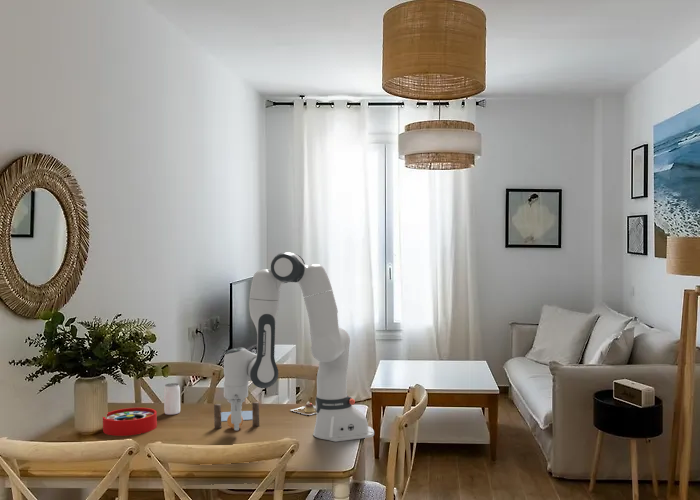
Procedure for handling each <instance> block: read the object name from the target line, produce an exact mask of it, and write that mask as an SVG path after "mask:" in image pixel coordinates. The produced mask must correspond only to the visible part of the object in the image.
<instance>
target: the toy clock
mask: <svg viewBox="0 0 700 500" xmlns="http://www.w3.org/2000/svg"><path fill="white" fill-rule="evenodd" d="M107 413H108V414H107V419H106V418H105V417H103V416H102V432H103V433H104V434H105V435H107V436H116V437H117V436H118V437H120V436H121V437H123V436H124V437H125V436H127V437H128V436H136V435H141V433H142V434H146V433H149V432H152V431H153V430H154V431H155V429H157V426H158V417H157V413H158V412H157V410H155V409H153V408H151V407H150V408H149V407H128V408H120V409H116V410H115V409H114V410H112V411H111V410H110V411H109V412H107Z"/></svg>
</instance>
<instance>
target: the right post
mask: <svg viewBox="0 0 700 500" xmlns="http://www.w3.org/2000/svg"><path fill="white" fill-rule="evenodd" d="M251 406H252V408H251V409H252V410H251V411H252V416H253V420H252V426H253V427H256V428H257V427H260V402H259V401H253V402H252V404H251Z"/></svg>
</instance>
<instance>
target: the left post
mask: <svg viewBox="0 0 700 500" xmlns="http://www.w3.org/2000/svg"><path fill="white" fill-rule="evenodd" d="M213 409H214V410H213V414H214V417H213V418H214V422H213V423H214V430H215V429H217V430H218V429H222V422H221V412H222V403H214V404H213Z"/></svg>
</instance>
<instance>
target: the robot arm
mask: <svg viewBox="0 0 700 500" xmlns="http://www.w3.org/2000/svg"><path fill="white" fill-rule="evenodd" d="M287 283H297V284H298V285H299V286H300V289H301V293H302V296H303V302H304V305H305V308H306V309H305V310H306V312H307V313H306V314H307V315H308V316H307V317H308V321H309V322H308V323H309V333H310V341H311V342H310V343H311V344H310V345H311V346H310V351H311V354H312V356H313V358H314V359H315V360H316V361H318V362H319V364H318V369H317V372H316V373H317V374H316V396H315V406H316V408H315V411H316V412H315V413H317V414H316V415H315V416H316V417H315V425H314V429H313V433H312V435H313V437H315V438H317V439H321V440H327V441H331V442H344V441H352V440H359V439H361V440H362V439H367V438H369V439H370V438H372V437H374V436H375V430H374V429H373V427H371V426H369V424H368V419H367V417H366V415H365V414H364V413H363V412H361V411H360V410H359V409H357V408H356V407H354V405H355V404H356V400H355V399H354V398H352V397H351V396H350V395H348V394H347V393H348V392H347V391H348V387H347V384H348V383H347V382H348V381H347V375H348V366H349V356H350V355H349V352H350V343H351V338H350V335H349V333H348V331H346V330H345V329H343V328H341V327H339V319H338V312H339V311H338V306H337V303H336V299H335V295H334V291H333V288H332V284H331V281H330V277H329V276H328V273H327V272H326V269H325V268H324V267H323V265H321V264H318V263H312V264H306V262H305V261H304V259H303V258H302V256H301V255H299V254H297V253H294V252H290V251H286V252H281V253H278V254H276V255H275V256H274V257H273V259H272V261H271V263H270V268H268V269H267V268H263V269H260V270H257V271H256V272H254V275H253V277H252V280H251V285H250V290H249V291H250V292H249V299H248V302H249V303H248V304H249V305H248V306H249V307H248V308H249V315H250V319H251V320H252V322H253V324H254V326H255V330H256V334H257V335H256V339H257V341H256V353H254V352H253V351H250V350H248V349H246V348H245V347H234V348H231V349H229V350H227V351H226V352H225V353H224V358H223V376H224V381H223V398H224V399H226V400H227V402H228V403H229V404H230V412H231V423H232V424H234V428H233V430H234V431H239V430H240V427H239V423H241V421H242V417H241V411H242V409H243V402H246V398H248V397H249V382H252V384H253V385H254V386H255V387H257V388H259V389H268V388H271V387H272V386H273V385H275V383H276V382H277V380H278V379H279V368H278V365H277V363H276V359H275V358H276V357H275V347H276V346H275V345H276V343H275V342H276V341H275V340H276V338H275V337H276V328H277V327H276V325H277V318H278V312H279V305H280V293H281V292H280V291H281V289H282V288H281V287H282V286H283V285H284V284H287Z"/></svg>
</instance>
